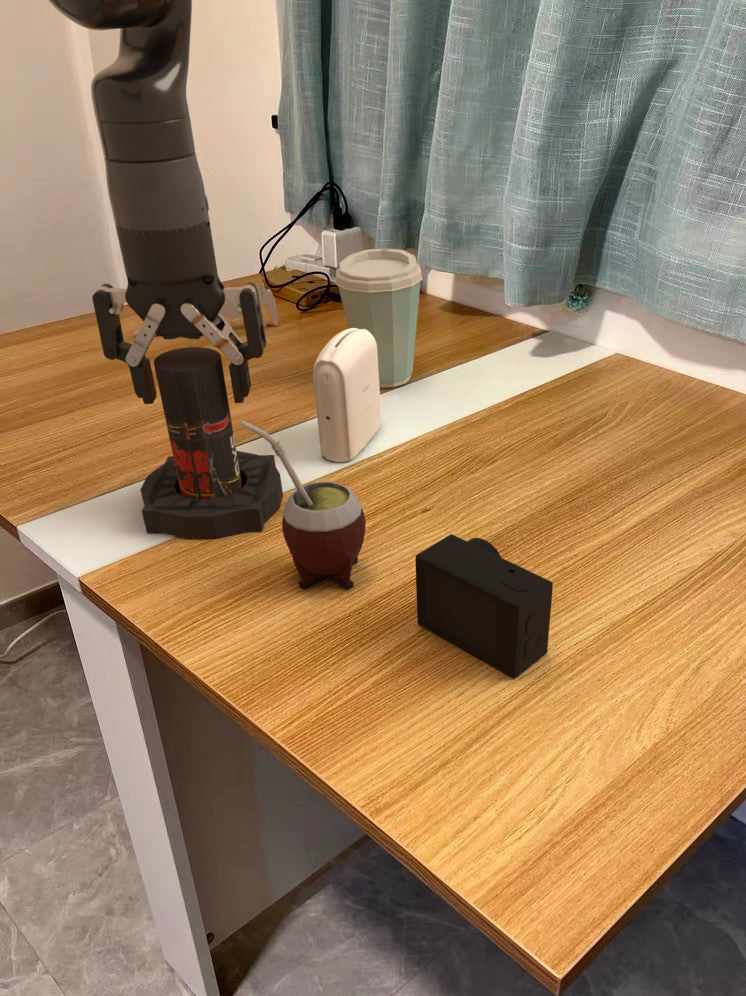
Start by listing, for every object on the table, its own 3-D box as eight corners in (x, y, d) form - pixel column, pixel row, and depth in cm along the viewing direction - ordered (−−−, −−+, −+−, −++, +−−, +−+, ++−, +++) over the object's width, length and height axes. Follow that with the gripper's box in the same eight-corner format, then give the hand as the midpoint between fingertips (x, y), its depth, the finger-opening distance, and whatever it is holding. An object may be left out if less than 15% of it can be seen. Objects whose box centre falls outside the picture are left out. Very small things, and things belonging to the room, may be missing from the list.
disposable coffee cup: (417, 398, 109) (413, 274, 100) (332, 393, 111) (321, 270, 102) (432, 365, 118) (430, 248, 109) (353, 361, 119) (344, 245, 110)
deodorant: (180, 494, 91) (150, 352, 82) (238, 483, 92) (215, 343, 83) (188, 522, 86) (157, 375, 77) (249, 511, 88) (225, 366, 79)
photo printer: (352, 465, 95) (343, 354, 88) (315, 460, 96) (304, 350, 89) (386, 425, 103) (381, 320, 96) (352, 421, 104) (344, 316, 97)
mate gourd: (384, 574, 79) (375, 419, 70) (313, 611, 75) (294, 451, 66) (332, 541, 83) (318, 391, 74) (262, 575, 79) (238, 420, 70)
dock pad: (131, 540, 84) (125, 517, 82) (164, 472, 94) (159, 451, 93) (272, 537, 84) (269, 515, 82) (289, 470, 95) (286, 449, 93)
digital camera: (558, 646, 71) (564, 574, 67) (516, 680, 68) (520, 607, 63) (460, 595, 76) (461, 526, 72) (417, 624, 73) (415, 554, 69)
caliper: (278, 324, 131) (273, 281, 127) (278, 327, 130) (273, 283, 126) (135, 335, 127) (125, 291, 124) (134, 338, 126) (124, 294, 123)
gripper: (59, 227, 70) (107, 419, 79) (241, 225, 70) (267, 416, 80) (87, 204, 76) (129, 385, 85) (255, 203, 76) (278, 383, 86)
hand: (195, 400), depth 83 cm, fingers open, 8 cm apart
